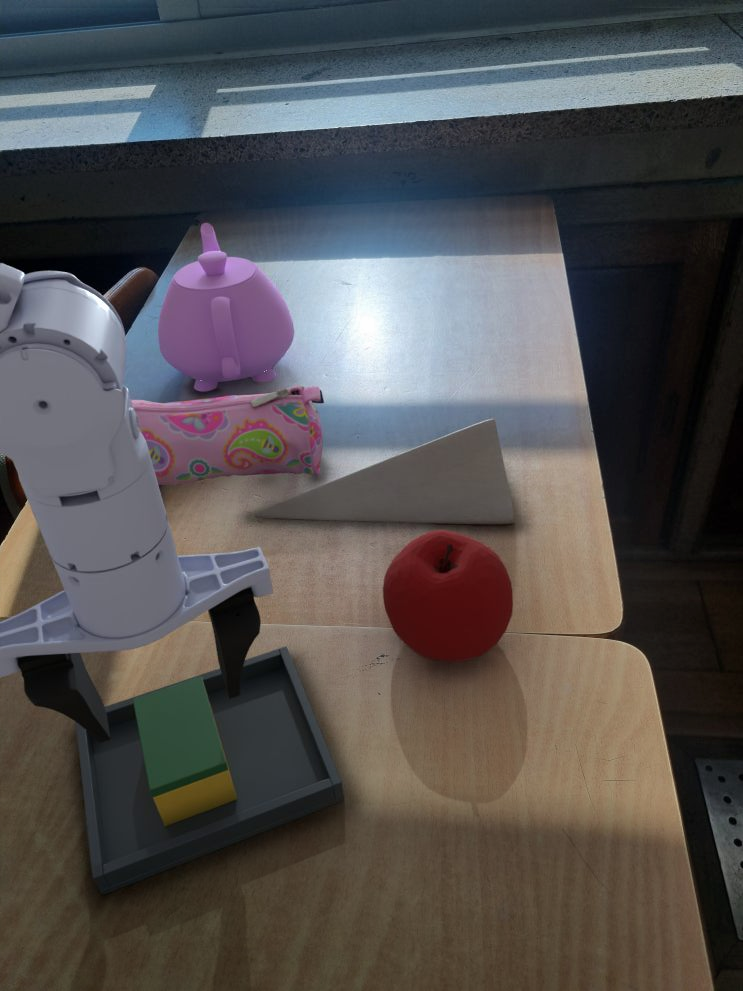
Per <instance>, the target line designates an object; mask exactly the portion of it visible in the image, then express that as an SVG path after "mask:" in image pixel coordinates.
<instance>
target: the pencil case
mask: <svg viewBox="0 0 743 991" xmlns="http://www.w3.org/2000/svg"><path fill="white" fill-rule="evenodd" d="M131 402H132V405H133V409H134V410H135V412H136V414H137V417H138V421H139V427H140V432H141V433H142V435H143V436H144V438H145V440H146V443H147V446H148V449H149V453H150V457H151V460H152V464H153V468H154V471H155V475H156V478H157V482H158V486H163V485H164V486H165V485H166V486H167V485H187V484H188V485H189V484H194V483H197V482H201V481H206V480H211V479H212V480H213V479H217V478H222V477H233V476H236V477H237V476H239V477H240V476H241V477H243V476H264V475H265V476H266V475H277V474H293V475H303V474H305V475H308V476H311V477H315V476H317V477H318V476H320V474H321V463H322V462H321V461H322V456H323V455H322V454H323V444H324V440H323V438H324V436H323V426H322V421H321V417H320V414H319V412H318V410H317V408H316V407H315V405H314V404H324V403H325V401H324V397H323V391H322V390H321V389H320V386H319V385H308V386H304V385H300V384H298V385H295V386H292V387H289V388H282V389H279V390H277V392H276V391H274V392H273V391H272V392H270V393H257V394H256V393H255V394H241V395H240V394H239V395H235V394H233V395H223V396H219V397H218V396H217V397H211V398H210V397H209V398H198V399H192V400H191V399H190V400H184V401H170V402H164V403H163V402H156V401H151V400H146V399H131Z"/></svg>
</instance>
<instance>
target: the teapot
mask: <svg viewBox="0 0 743 991" xmlns="http://www.w3.org/2000/svg"><path fill="white" fill-rule="evenodd" d="M200 236H201V241H202V254H200V255H198V257H197V260H196V261H194V262H191V263H188V264H186V265H184V266H182V267H181V268H179V269H178V270H177V271H176V272H175V273H174V275H173V276H172V279H171V281H170V283H169V285H168V287H167V290H166V293H165V296H164V298H163V300H162V303H161V307H160V311H159V317H158V322H157V323H158V324H157V338H158V339H157V340H158V346H159V351H160V354H161V356H162V357H163V359H164V360H165V361H166V363H168V364H169V365H170V366H171V367H172V368H174V369H175V370H177V371H178V372H179V373H181V374H183V375H184V376H187V377H189V378H191V379H193V380H195V382H194V385H193V388H194V390H195V391H198V392H209V391H213V390H215V389H216V388H217V387H218V386H219V382H231V381H238V380H242V379H247V378H252V381H254V382H257V383H267V382H271V381H272V380H274V379H275V378H276V376H277V374H276V372H275V371H274V369H273V367H274V366H276V364H278V363H279V362H280V361H281V359H282V358H283V357H284V356H285V354H286V353H287V351H288V350H289V349H290V347H291V345H292V343H293V341H294V338H295V327H294V321H293V318H292V315H291V312H290V309H289V307H288V305H287V303H286V301H285V299H284V297H283V295H282V293H281V292H280V291H279V289H278V288H277V286H276V285H275V284H274V282H272V280H271V279H270V278H269V276H267V275H266V274H265V272H264V271H263V270H262V269H261V268H260V267H259V266H258V265H257V264H256V263H254V262H253V261H251V260H249V259H247V258H243V257H237V256H228V254H227V252H225V251H221V248H220V245H219V242H218V239H217V235H216V232H215V230H214V227H213V225H212V224H210V223H209V222H204V223H202V224H201V226H200ZM266 370H267V371H266ZM264 371H265V372H264ZM200 380H202V381H200Z"/></svg>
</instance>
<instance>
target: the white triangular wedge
mask: <svg viewBox="0 0 743 991" xmlns="http://www.w3.org/2000/svg"><path fill="white" fill-rule="evenodd" d="M513 507H514V506H513V502H512V496H511V492H510V488H509V482H508V477H507V473H506V467H505V462H504V457H503V452H502V447H501V442H500V436H499V432H498V428H497V422H496V419H495V418H490V419H486V420H482V421H480V422H478V423H474V424H472V425H469V426H467V427H464V428H461V429H459V430H456V431H454V432H452V433H449V434H446V435H443V436H441V437H438V438H437V439H434V440H431V441H429V442H427V443H424V444H421V445H419V446H416V447H413V448H411V449H408V450H407V451H403V452H402V453H399V454H396V455H394V456H392V457H391V456H390V457H388V458H386V459H383V460H382V461H379V462H377V463H374V464H371V465H369V466H366V467H364V468H361V469H359V470H357V471H354V472H351V473H349V474H346V475H344V476H341V477H339V478H336V479H334V480H332V481H331V480H330V481H329V482H327V483H324V484H322V485H319V486H317V487H314V488H311V489H309V490H307V491H305V492H301V493H299V494H297V495H294V496H292V497H290V498H287V499H285V500H282V501H280V502H277V503H274V504H273V505H270V506H267V507H266V508H263V509H262V510H259V511H257V512H255V513H254V517H256V518H263V519H281V520H282V519H283V520H284V519H285V520H312V521H313V520H314V521H315V520H316V521H344V522H373V523H374V522H377V523H378V522H380V523H408V524H409V523H410V524H411V523H412V524H446V525H447V524H451V525H453V524H454V525H512V524H515V523H516V518H515V514H514V508H513Z"/></svg>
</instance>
